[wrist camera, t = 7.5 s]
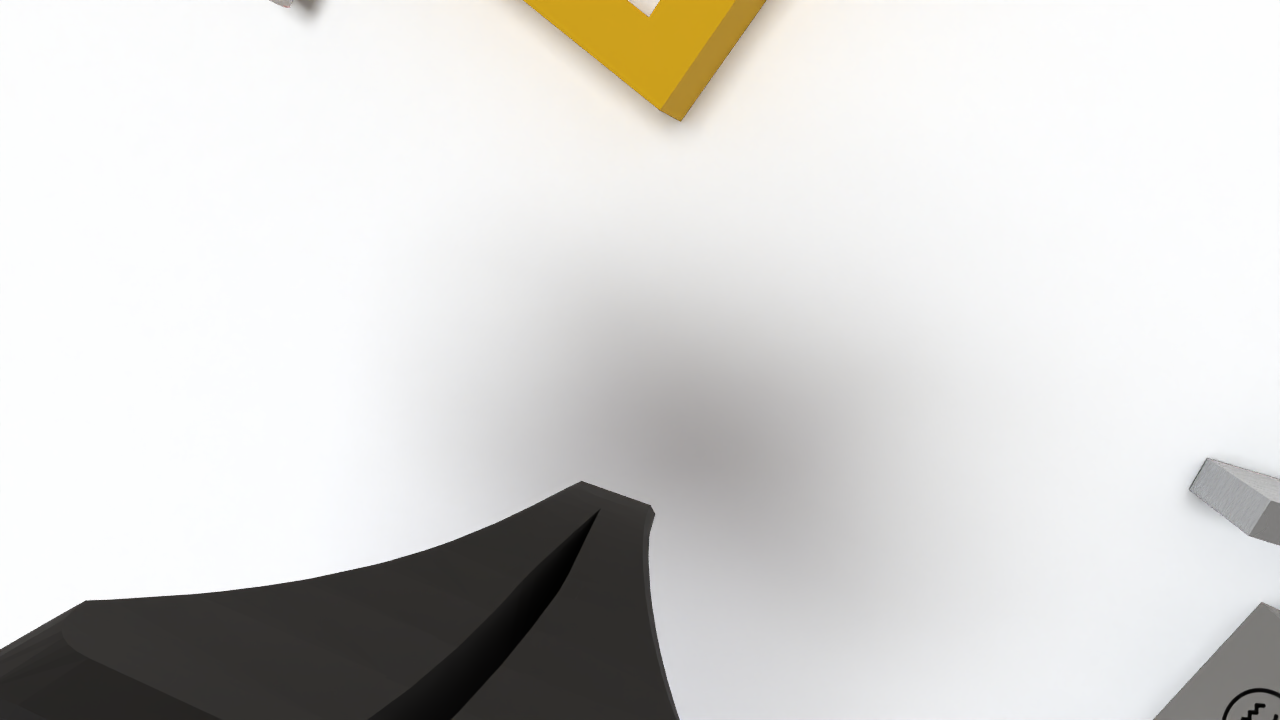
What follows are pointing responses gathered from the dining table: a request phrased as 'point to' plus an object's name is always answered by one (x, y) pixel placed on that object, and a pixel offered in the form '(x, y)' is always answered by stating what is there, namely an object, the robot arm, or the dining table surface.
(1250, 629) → the dice cube
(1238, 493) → the bar
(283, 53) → the dining table surface
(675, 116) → the multicolour toy assembly
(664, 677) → the robot arm
